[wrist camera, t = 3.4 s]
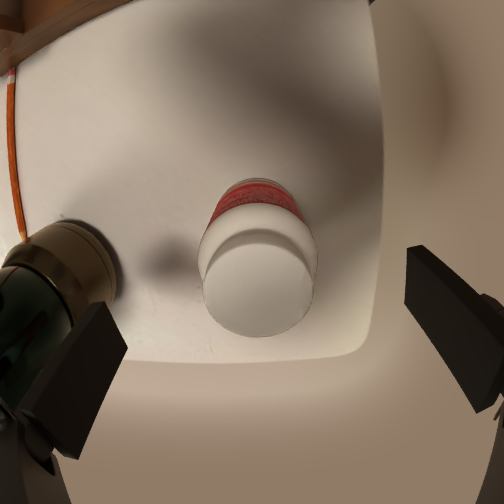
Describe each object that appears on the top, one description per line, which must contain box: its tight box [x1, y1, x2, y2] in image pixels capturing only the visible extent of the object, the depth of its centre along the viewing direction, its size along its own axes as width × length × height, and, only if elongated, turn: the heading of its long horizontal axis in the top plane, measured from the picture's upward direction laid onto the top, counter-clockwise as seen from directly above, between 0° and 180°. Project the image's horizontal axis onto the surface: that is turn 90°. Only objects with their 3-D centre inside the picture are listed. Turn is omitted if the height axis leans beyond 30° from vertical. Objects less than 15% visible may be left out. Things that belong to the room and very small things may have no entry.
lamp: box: [0, 222, 116, 412], centre depth 14 cm, size 10×10×22 cm
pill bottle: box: [198, 179, 318, 337], centre depth 17 cm, size 6×6×11 cm
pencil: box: [7, 69, 26, 241], centre depth 20 cm, size 1×18×1 cm, turn 179°
